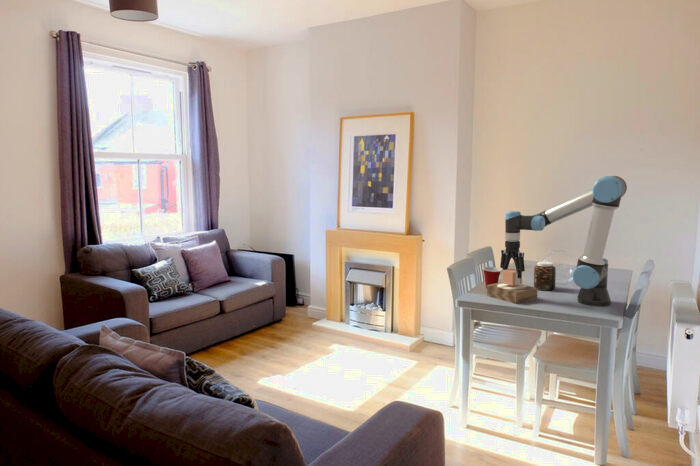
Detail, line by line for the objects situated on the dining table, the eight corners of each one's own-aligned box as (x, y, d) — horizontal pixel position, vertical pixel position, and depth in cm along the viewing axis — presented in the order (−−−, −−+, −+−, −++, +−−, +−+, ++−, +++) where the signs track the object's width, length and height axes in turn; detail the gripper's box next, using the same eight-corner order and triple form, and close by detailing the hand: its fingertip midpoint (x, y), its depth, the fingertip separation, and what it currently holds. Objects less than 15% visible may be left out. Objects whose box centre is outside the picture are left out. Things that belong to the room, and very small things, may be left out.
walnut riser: (537, 299, 258) (537, 287, 257) (515, 303, 250) (516, 291, 249) (507, 291, 275) (507, 280, 274) (487, 295, 267) (487, 284, 266)
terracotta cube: (521, 283, 260) (522, 270, 259) (512, 285, 257) (512, 272, 256) (511, 281, 266) (511, 268, 265) (502, 283, 263) (502, 270, 262)
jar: (557, 291, 273) (558, 264, 271) (535, 290, 275) (535, 264, 274) (553, 286, 285) (553, 261, 283) (532, 285, 287) (532, 260, 285)
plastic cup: (499, 291, 275) (499, 270, 274) (480, 289, 281) (480, 269, 279) (503, 287, 285) (503, 267, 283) (484, 285, 290) (484, 265, 289)
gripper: (533, 241, 252) (532, 285, 255) (503, 237, 269) (502, 278, 272) (522, 243, 248) (522, 287, 251) (493, 239, 265) (492, 280, 268)
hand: (511, 282), depth 262 cm, fingers open, 7 cm apart
